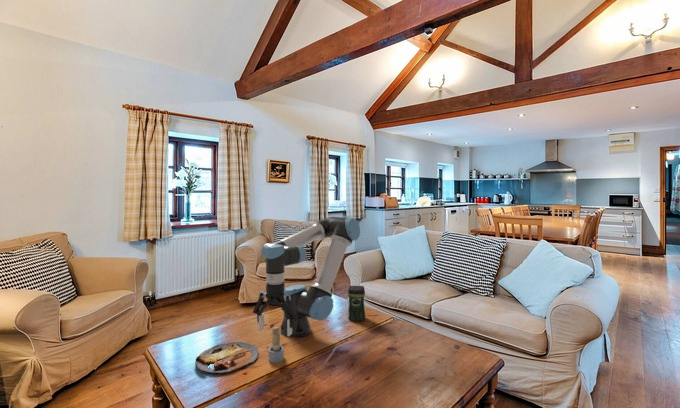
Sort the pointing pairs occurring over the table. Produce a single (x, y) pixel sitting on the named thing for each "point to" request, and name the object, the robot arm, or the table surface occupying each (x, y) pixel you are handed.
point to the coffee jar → (356, 303)
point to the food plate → (223, 356)
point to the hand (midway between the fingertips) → (275, 332)
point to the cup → (276, 355)
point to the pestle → (276, 339)
